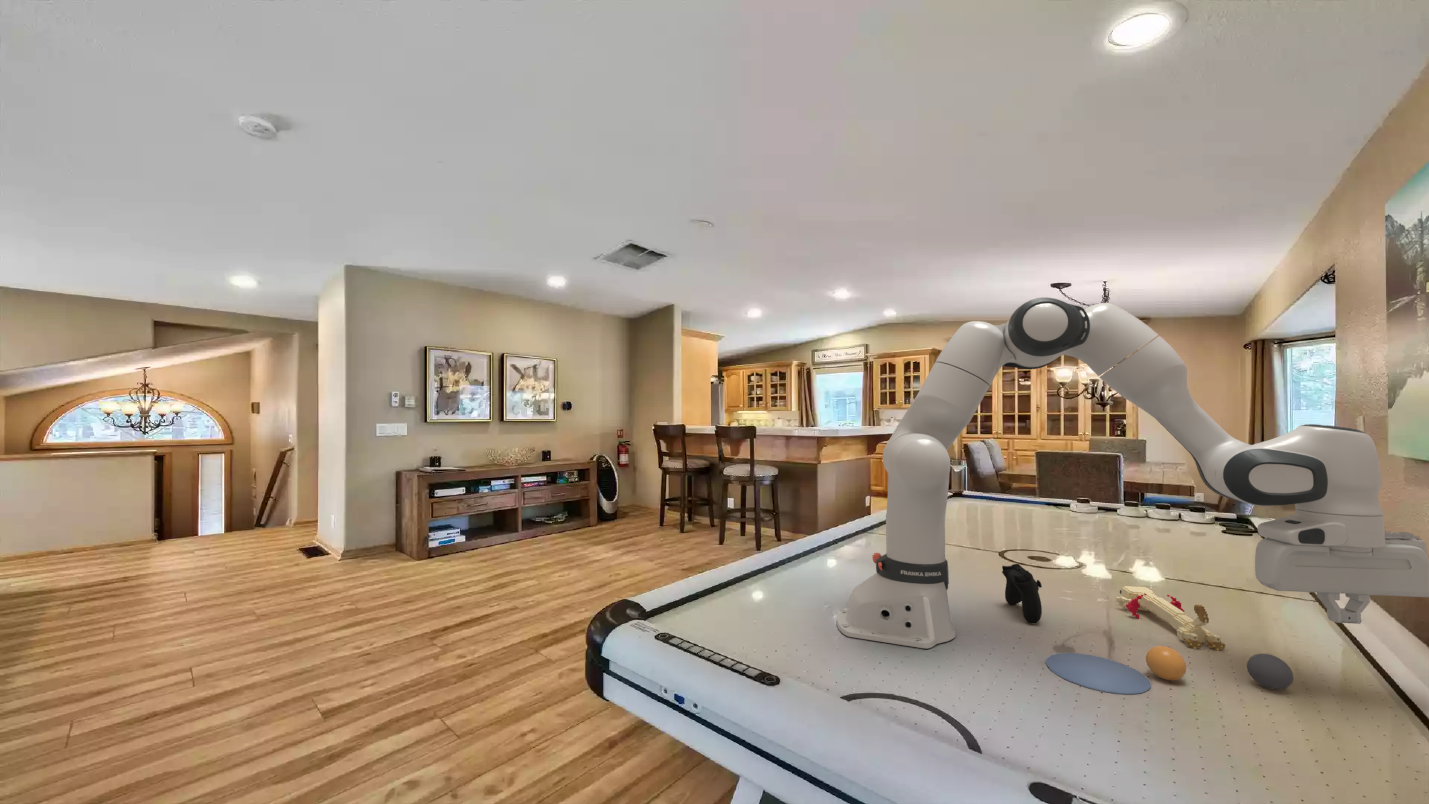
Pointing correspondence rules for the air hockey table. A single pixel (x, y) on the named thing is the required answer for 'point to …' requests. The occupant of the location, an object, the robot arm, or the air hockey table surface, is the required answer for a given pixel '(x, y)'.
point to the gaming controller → (1023, 591)
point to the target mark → (1098, 673)
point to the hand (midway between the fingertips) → (1344, 622)
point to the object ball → (1166, 663)
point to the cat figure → (1171, 616)
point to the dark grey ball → (1270, 671)
